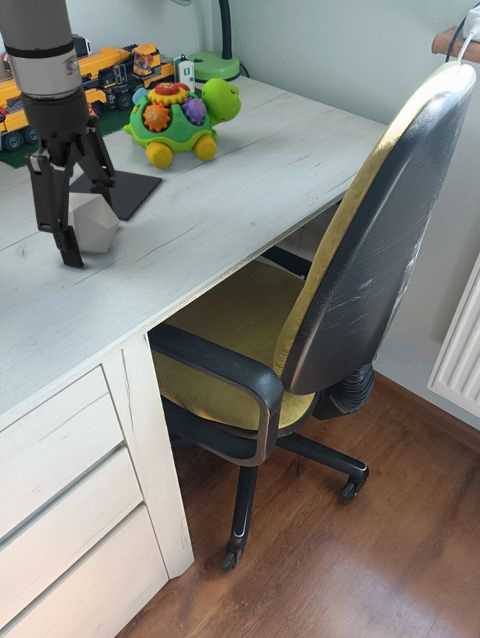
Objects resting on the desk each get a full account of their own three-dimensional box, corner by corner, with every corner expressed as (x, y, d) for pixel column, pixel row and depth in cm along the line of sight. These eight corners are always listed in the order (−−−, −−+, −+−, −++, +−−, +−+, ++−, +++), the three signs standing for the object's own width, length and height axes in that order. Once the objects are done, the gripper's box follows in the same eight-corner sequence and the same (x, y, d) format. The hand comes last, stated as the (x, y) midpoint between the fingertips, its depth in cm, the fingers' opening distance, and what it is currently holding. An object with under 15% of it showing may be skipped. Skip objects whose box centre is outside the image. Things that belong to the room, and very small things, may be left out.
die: (57, 240, 80) (27, 215, 70) (95, 197, 80) (71, 167, 71) (98, 273, 79) (74, 254, 69) (136, 230, 80) (117, 204, 70)
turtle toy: (257, 154, 100) (258, 90, 92) (140, 176, 93) (130, 109, 84) (223, 121, 111) (222, 61, 102) (117, 138, 103) (105, 75, 95)
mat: (50, 206, 85) (49, 203, 85) (91, 168, 94) (91, 165, 94) (127, 221, 83) (126, 218, 82) (162, 180, 92) (162, 177, 92)
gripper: (24, 129, 53) (76, 295, 69) (122, 62, 68) (145, 211, 84) (-38, 120, 55) (26, 284, 71) (71, 56, 70) (104, 204, 86)
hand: (91, 245), depth 78 cm, fingers closed on die, 10 cm apart
